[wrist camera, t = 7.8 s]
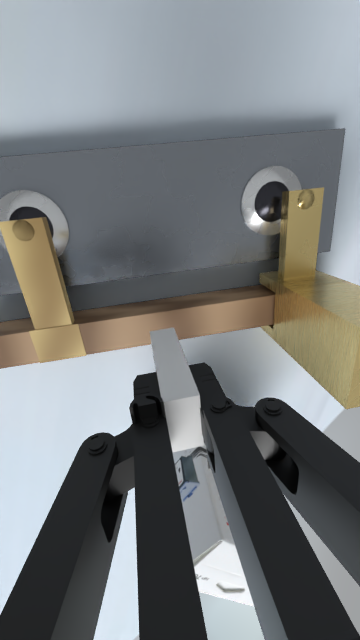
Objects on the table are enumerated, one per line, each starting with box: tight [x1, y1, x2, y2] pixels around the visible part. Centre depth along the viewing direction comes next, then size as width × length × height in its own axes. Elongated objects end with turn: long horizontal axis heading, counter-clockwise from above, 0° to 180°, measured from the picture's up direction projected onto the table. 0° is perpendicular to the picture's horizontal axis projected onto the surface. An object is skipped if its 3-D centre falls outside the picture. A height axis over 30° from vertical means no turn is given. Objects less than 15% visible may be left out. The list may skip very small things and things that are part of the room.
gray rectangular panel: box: [0, 128, 345, 295], centre depth 19 cm, size 26×8×1 cm, turn 96°
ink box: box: [173, 442, 254, 606], centre depth 23 cm, size 9×5×12 cm, turn 50°
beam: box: [0, 217, 275, 369], centre depth 20 cm, size 26×9×3 cm, turn 96°
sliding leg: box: [259, 187, 360, 409], centre depth 17 cm, size 4×10×11 cm, turn 6°
